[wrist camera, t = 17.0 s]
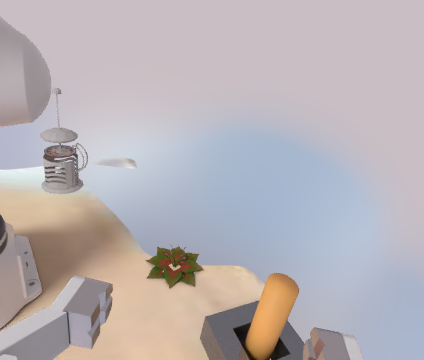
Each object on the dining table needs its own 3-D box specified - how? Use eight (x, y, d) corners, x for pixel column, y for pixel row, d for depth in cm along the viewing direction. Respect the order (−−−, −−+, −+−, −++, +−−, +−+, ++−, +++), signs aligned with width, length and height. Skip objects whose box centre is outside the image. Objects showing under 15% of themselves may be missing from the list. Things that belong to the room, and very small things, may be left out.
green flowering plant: (135, 285, 52) (137, 267, 50) (151, 243, 63) (153, 226, 61) (201, 297, 52) (205, 278, 50) (206, 252, 63) (209, 236, 61)
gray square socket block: (200, 338, 45) (205, 316, 43) (262, 317, 50) (270, 297, 48) (238, 425, 36) (247, 404, 33) (309, 388, 41) (321, 367, 39)
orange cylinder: (233, 359, 43) (260, 281, 36) (250, 344, 45) (278, 268, 38) (254, 382, 40) (287, 304, 33) (270, 364, 43) (304, 288, 36)
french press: (57, 172, 81) (50, 81, 70) (96, 182, 80) (95, 90, 69) (32, 188, 72) (19, 86, 61) (75, 199, 72) (71, 97, 60)
